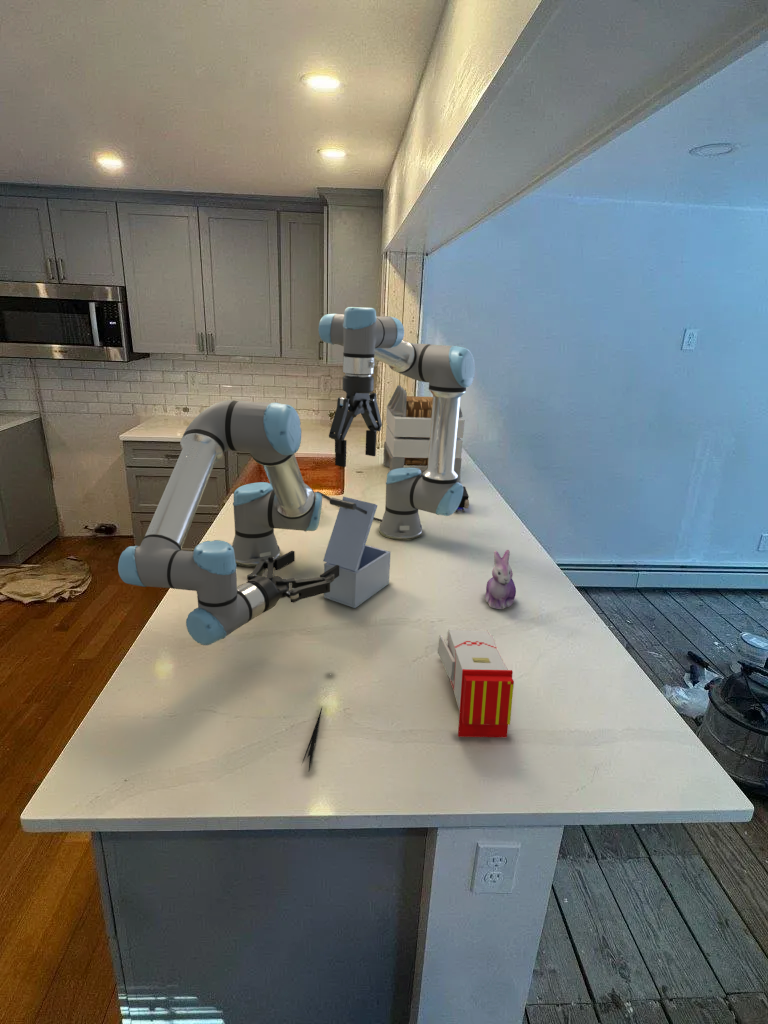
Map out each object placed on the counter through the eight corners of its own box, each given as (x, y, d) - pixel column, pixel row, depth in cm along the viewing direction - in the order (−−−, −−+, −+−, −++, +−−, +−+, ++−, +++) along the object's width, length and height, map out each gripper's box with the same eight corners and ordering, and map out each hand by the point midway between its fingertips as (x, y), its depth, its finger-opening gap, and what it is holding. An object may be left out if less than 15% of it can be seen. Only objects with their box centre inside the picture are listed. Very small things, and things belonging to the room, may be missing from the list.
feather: (331, 679, 122) (336, 673, 122) (307, 777, 96) (313, 769, 95) (324, 675, 122) (329, 669, 121) (298, 772, 95) (304, 764, 95)
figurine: (497, 613, 149) (504, 562, 144) (474, 596, 158) (480, 547, 153) (525, 606, 154) (532, 556, 149) (501, 590, 162) (508, 542, 157)
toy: (488, 613, 130) (523, 677, 101) (484, 667, 133) (517, 744, 104) (435, 612, 130) (455, 676, 101) (432, 666, 133) (451, 743, 103)
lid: (345, 497, 153) (328, 488, 145) (377, 505, 148) (361, 496, 140) (325, 561, 151) (306, 556, 143) (357, 571, 146) (339, 566, 138)
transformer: (382, 463, 289) (386, 382, 275) (445, 464, 293) (451, 384, 279) (390, 482, 257) (394, 392, 243) (460, 483, 261) (468, 394, 247)
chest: (359, 574, 168) (360, 543, 165) (389, 583, 164) (390, 551, 160) (323, 597, 154) (324, 563, 151) (354, 608, 149) (355, 573, 146)
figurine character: (469, 517, 223) (463, 501, 236) (471, 500, 219) (465, 484, 233) (452, 516, 222) (447, 500, 236) (454, 499, 219) (449, 483, 232)
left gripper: (213, 597, 128) (276, 563, 145) (299, 632, 116) (357, 591, 133) (210, 567, 125) (275, 536, 142) (299, 599, 113) (358, 562, 130)
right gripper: (341, 380, 125) (339, 473, 132) (397, 372, 145) (393, 453, 152) (314, 377, 128) (313, 467, 136) (372, 370, 149) (369, 449, 156)
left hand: (315, 562), depth 138 cm, fingers open, 13 cm apart
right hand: (356, 460), depth 144 cm, fingers open, 13 cm apart
